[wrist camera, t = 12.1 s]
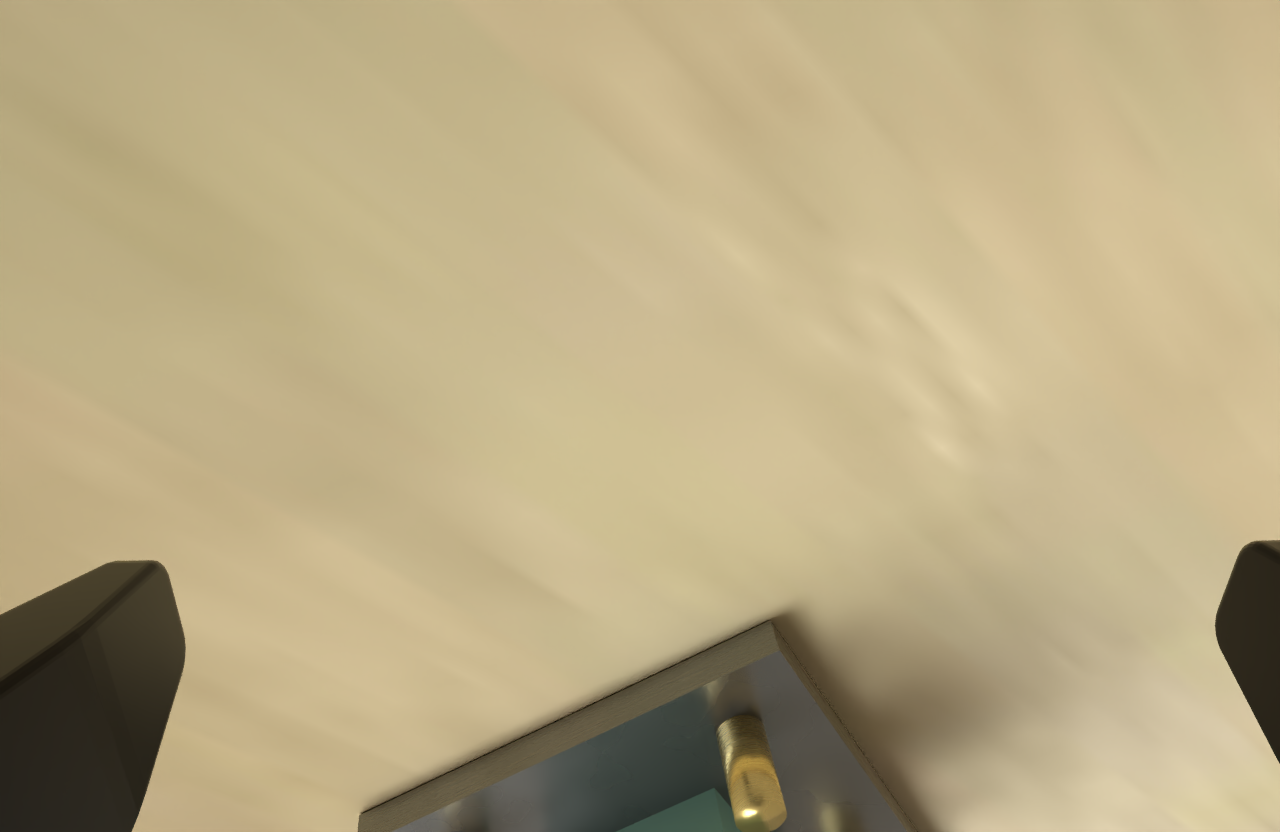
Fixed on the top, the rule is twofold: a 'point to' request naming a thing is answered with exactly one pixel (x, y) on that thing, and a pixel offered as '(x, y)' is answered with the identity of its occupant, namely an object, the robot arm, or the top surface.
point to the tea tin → (691, 816)
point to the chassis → (671, 758)
